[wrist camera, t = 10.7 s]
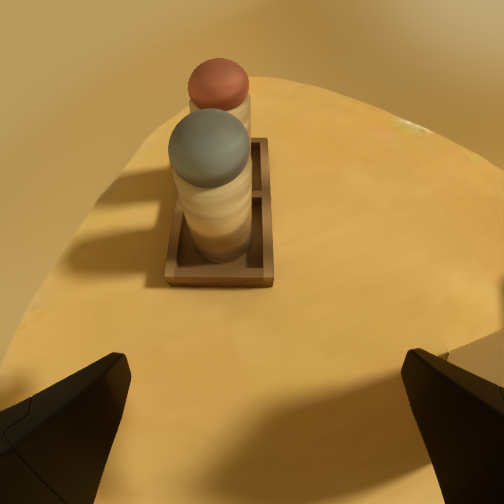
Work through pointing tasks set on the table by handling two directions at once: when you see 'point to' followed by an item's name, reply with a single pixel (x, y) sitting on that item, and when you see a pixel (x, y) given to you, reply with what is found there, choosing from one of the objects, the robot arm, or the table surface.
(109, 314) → the table surface
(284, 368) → the table surface
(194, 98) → the red peg doll
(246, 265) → the doll tray
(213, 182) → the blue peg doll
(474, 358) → the milk carton
